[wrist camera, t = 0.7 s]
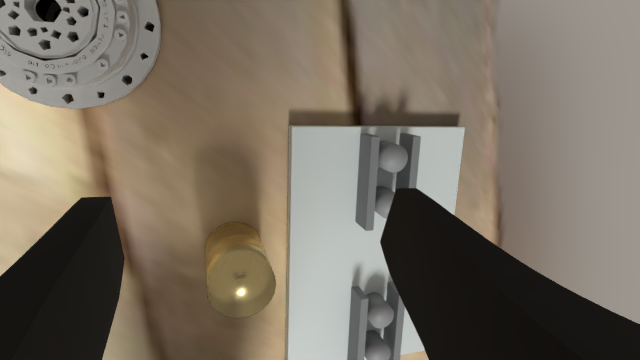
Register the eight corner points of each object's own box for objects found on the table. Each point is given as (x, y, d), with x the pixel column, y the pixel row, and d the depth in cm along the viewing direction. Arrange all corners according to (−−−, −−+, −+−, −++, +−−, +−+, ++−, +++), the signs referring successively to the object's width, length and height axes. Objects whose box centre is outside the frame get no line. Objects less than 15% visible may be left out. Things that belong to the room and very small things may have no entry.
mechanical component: (160, -59, 23) (-47, -94, 20) (152, -89, 19) (-110, -140, 16) (163, 111, 25) (-24, 102, 22) (156, 117, 21) (-74, 106, 18)
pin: (260, 270, 30) (275, 313, 24) (206, 275, 28) (208, 322, 23) (260, 220, 29) (275, 253, 23) (204, 224, 28) (205, 259, 22)
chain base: (432, 341, 36) (451, 362, 34) (285, 367, 32) (293, 394, 30) (457, 126, 32) (481, 130, 29) (288, 125, 28) (299, 129, 25)
